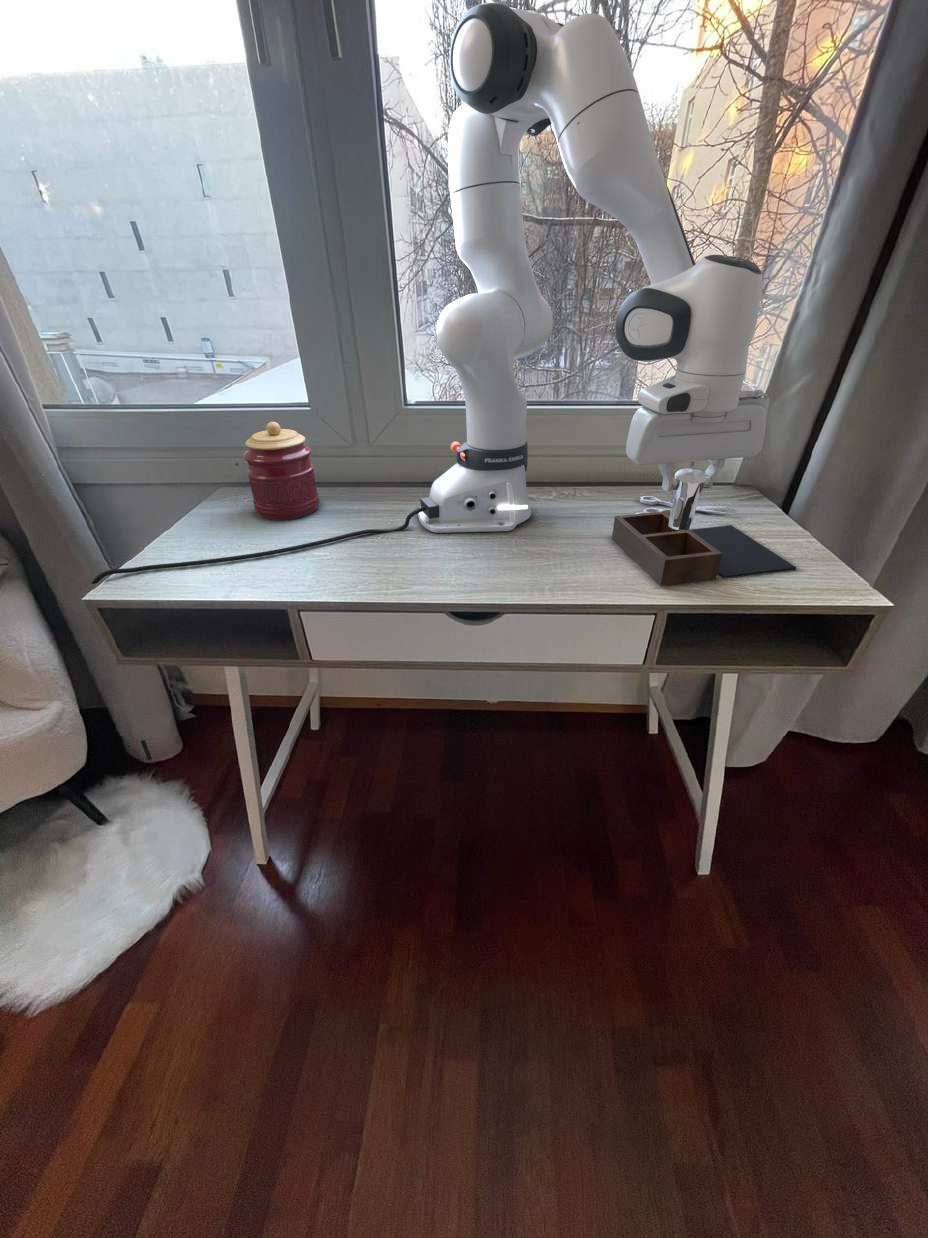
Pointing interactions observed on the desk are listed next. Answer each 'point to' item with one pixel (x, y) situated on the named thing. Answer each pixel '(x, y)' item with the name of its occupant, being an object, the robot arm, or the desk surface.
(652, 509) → the scissors
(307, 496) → the kitchen canister
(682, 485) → the milkshake
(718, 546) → the mouse pad
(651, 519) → the caddy
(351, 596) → the desk surface
